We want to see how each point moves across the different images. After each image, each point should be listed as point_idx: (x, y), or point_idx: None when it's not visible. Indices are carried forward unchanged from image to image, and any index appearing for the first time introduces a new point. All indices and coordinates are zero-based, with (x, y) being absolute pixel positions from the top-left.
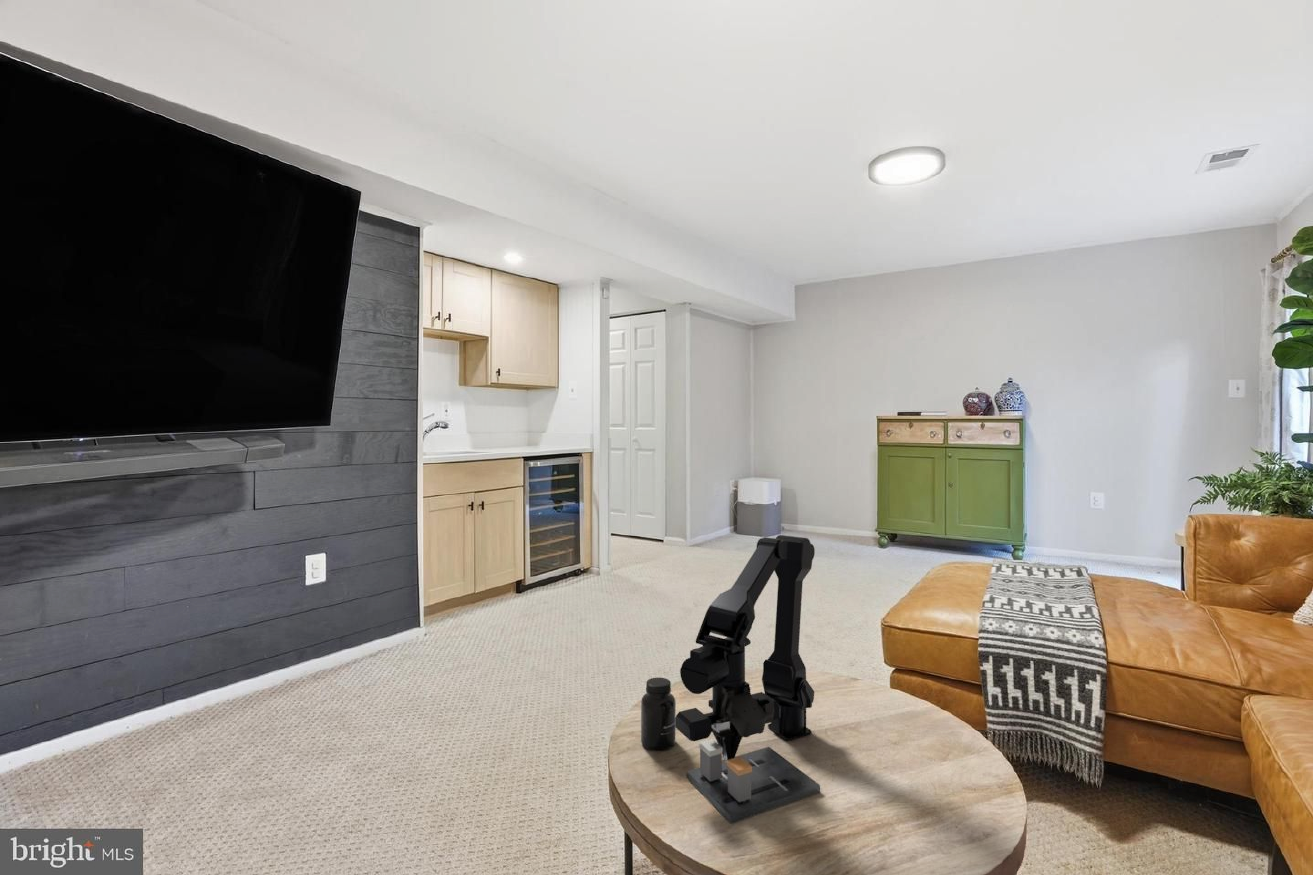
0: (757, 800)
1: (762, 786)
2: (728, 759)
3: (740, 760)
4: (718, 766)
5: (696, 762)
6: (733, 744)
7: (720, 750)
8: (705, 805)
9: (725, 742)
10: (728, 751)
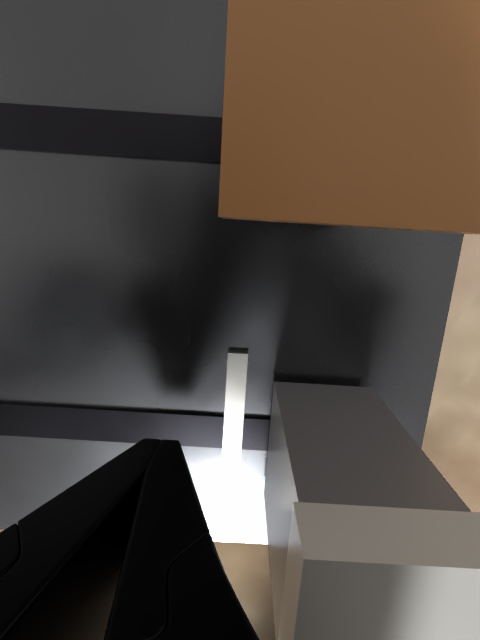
0: (207, 26)
1: (65, 159)
2: (181, 461)
3: (307, 76)
4: (316, 428)
5: (249, 598)
6: (76, 563)
7: (335, 533)
8: (474, 259)
9: (230, 629)
10: (176, 510)
